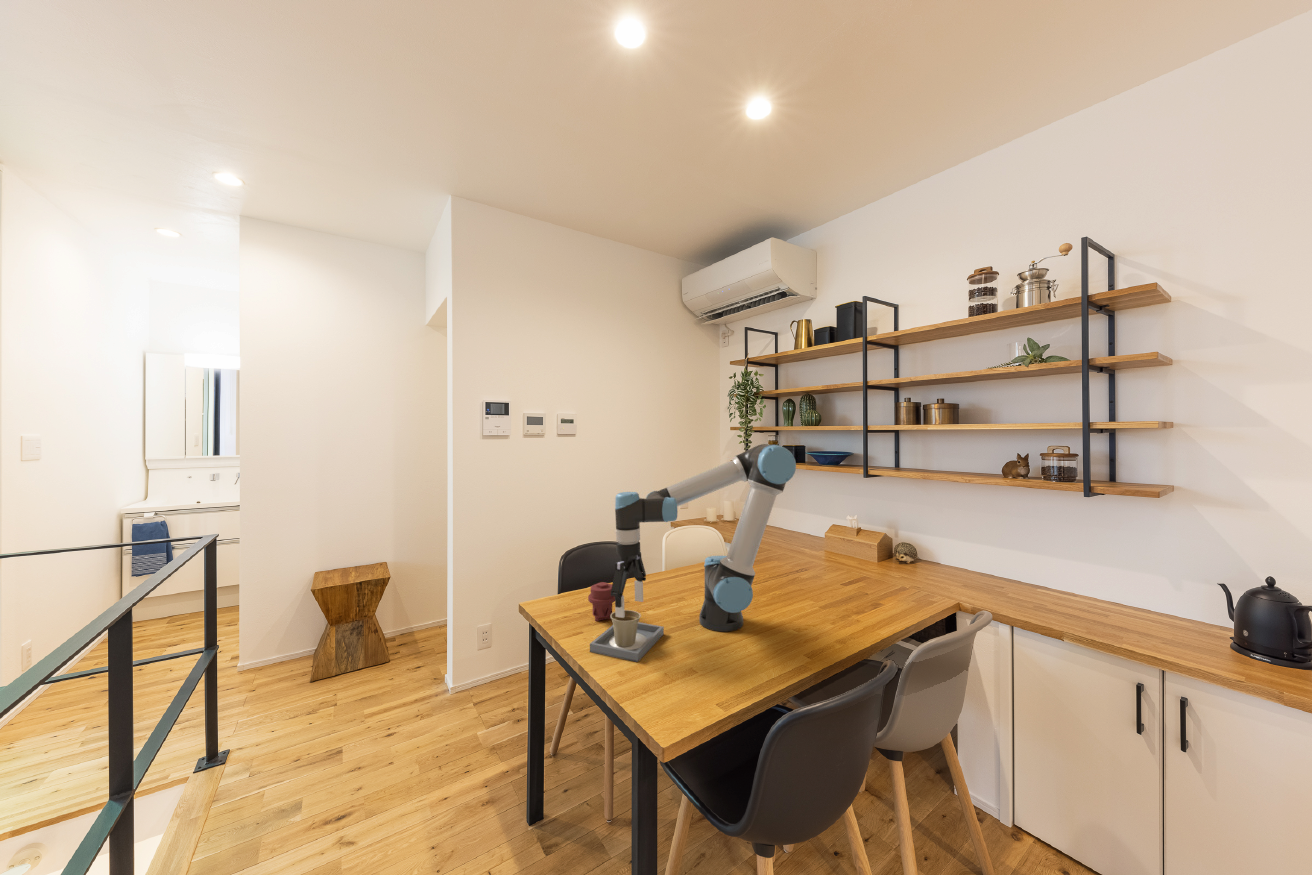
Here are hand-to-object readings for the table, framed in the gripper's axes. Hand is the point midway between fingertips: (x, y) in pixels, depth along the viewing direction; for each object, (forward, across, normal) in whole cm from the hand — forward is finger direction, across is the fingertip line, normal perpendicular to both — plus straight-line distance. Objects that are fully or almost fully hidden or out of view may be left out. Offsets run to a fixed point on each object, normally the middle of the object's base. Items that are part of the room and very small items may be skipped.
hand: (630, 608), depth 146 cm
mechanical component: (+11, -13, -18) cm, 25 cm away
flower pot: (+10, +2, -1) cm, 11 cm away
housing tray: (+11, 0, -1) cm, 11 cm away
